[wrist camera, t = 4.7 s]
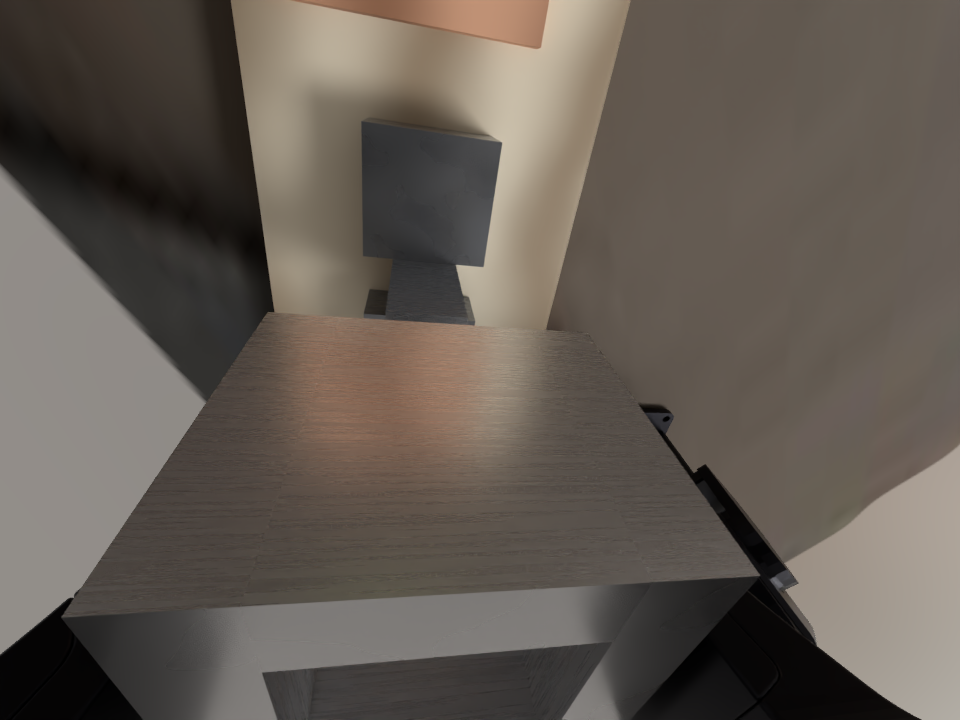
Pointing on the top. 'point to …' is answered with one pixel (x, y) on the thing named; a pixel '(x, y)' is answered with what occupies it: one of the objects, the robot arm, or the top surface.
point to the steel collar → (410, 537)
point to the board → (429, 102)
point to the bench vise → (425, 216)
